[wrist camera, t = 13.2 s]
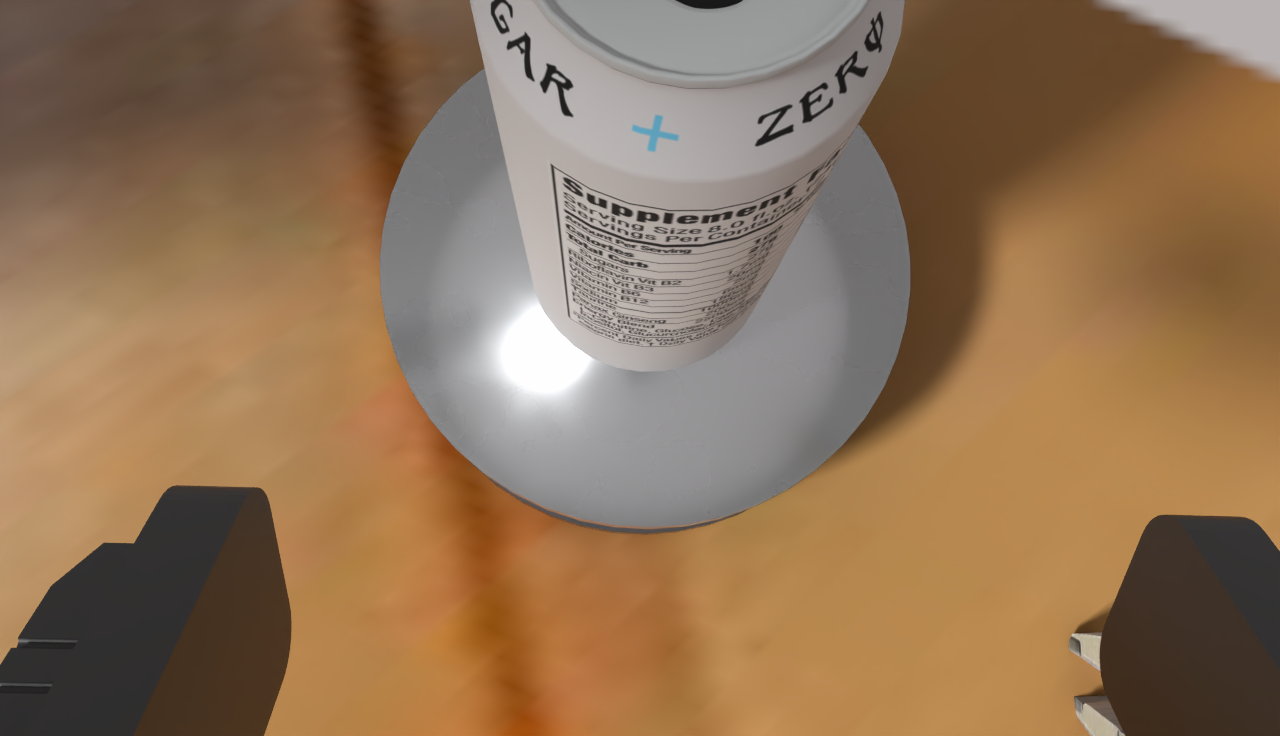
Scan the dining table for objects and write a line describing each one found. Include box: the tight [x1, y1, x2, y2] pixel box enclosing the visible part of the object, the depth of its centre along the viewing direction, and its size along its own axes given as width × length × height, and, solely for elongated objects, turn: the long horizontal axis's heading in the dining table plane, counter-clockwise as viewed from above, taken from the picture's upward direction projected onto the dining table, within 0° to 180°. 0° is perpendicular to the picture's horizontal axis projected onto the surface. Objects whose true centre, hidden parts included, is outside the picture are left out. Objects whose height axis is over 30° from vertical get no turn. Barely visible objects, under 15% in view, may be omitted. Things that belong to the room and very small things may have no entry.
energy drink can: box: [470, 0, 905, 372], centre depth 20 cm, size 6×6×15 cm
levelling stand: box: [380, 68, 910, 535], centre depth 29 cm, size 14×14×4 cm
